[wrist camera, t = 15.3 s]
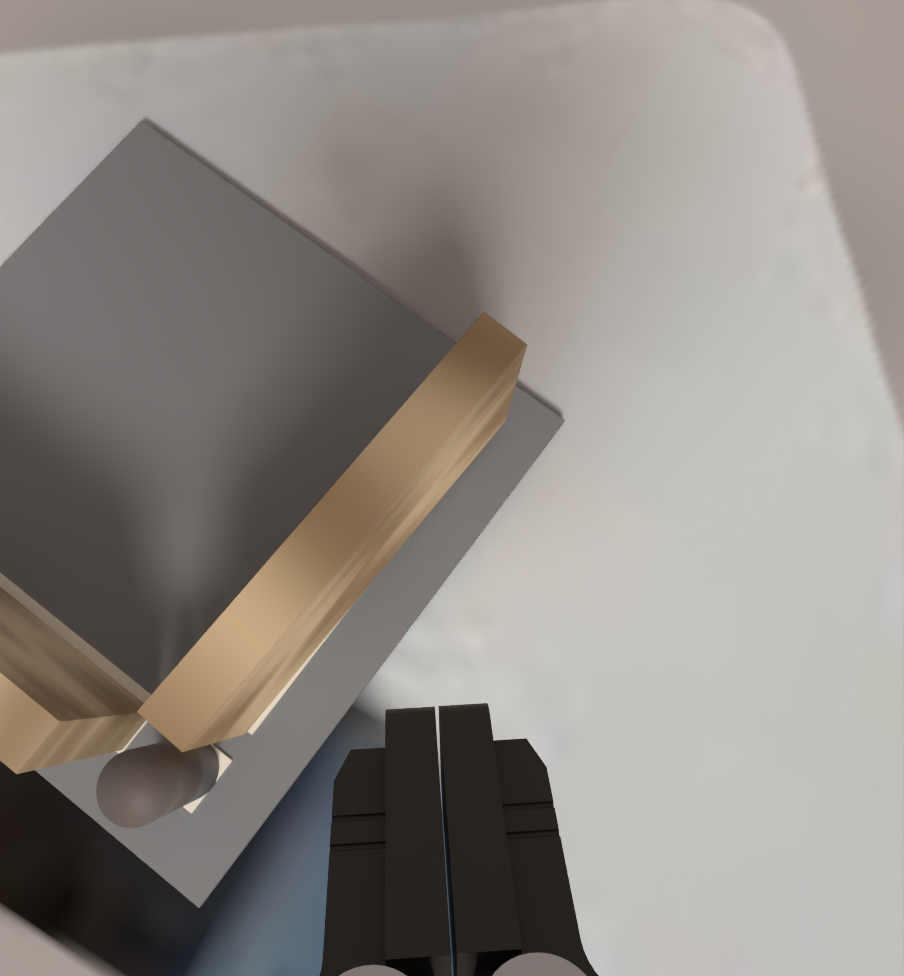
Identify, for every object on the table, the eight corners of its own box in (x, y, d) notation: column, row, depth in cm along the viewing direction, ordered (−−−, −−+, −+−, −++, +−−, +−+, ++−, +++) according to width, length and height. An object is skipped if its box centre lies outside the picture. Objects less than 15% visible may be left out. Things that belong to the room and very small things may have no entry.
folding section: (245, 734, 27) (182, 752, 20) (210, 704, 27) (136, 711, 20) (505, 421, 30) (527, 344, 23) (471, 396, 30) (483, 311, 23)
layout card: (-243, 530, 29) (-255, 528, 28) (145, 127, 33) (140, 119, 32) (202, 904, 27) (198, 909, 26) (562, 423, 30) (565, 419, 30)
